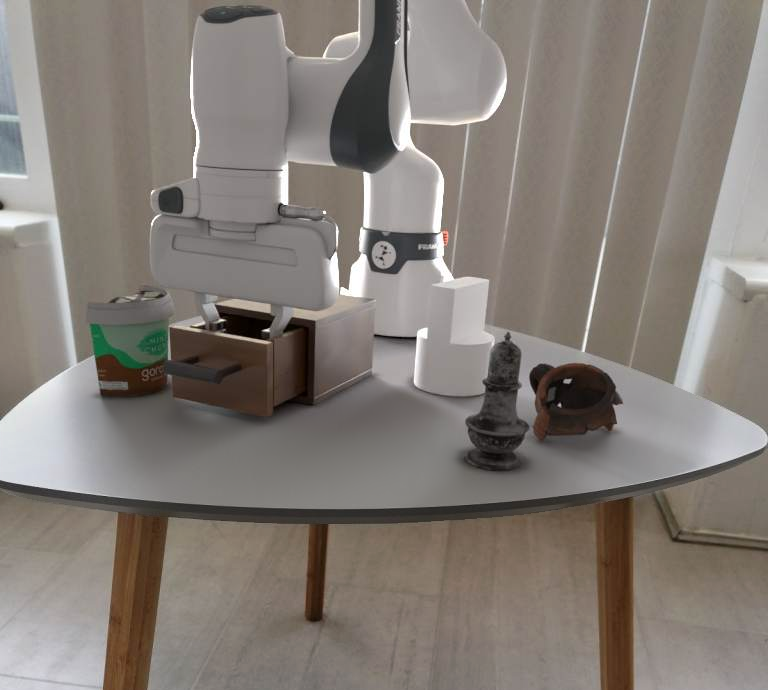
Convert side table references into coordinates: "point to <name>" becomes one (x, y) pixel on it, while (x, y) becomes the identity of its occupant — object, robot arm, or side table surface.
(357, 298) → the cabinet
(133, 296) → the food container
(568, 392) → the pottery mug
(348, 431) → the side table surface
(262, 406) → the drawer
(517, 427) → the salt shaker
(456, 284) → the cylinder with rectangular tab
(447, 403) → the side table surface
